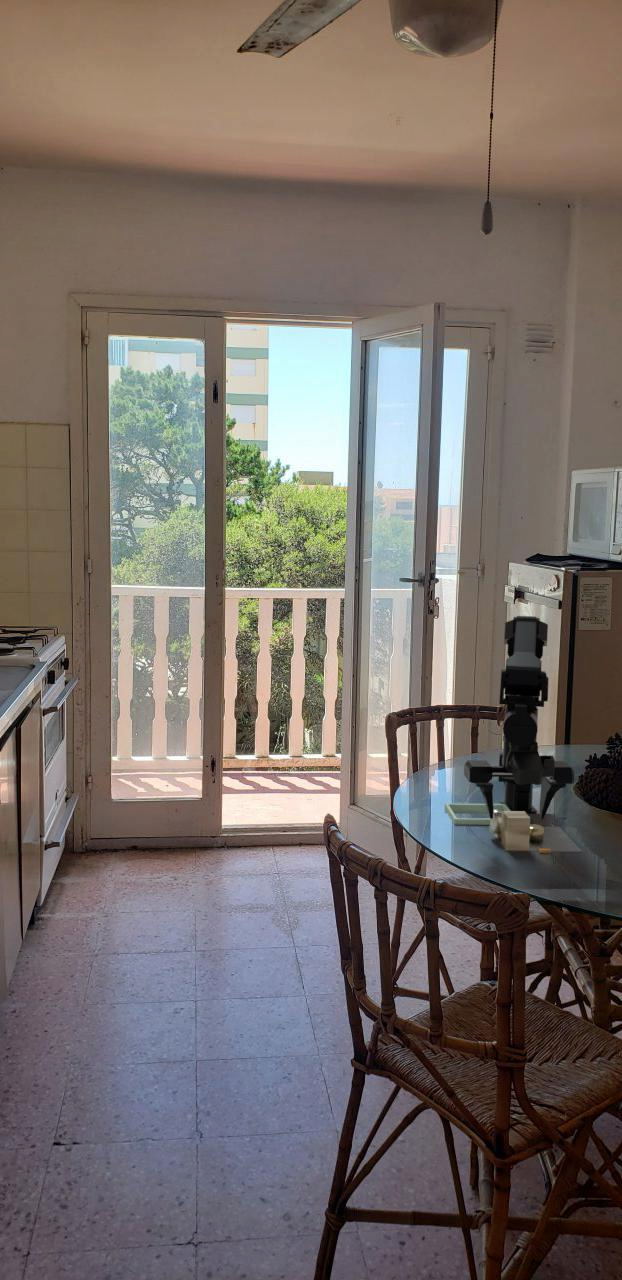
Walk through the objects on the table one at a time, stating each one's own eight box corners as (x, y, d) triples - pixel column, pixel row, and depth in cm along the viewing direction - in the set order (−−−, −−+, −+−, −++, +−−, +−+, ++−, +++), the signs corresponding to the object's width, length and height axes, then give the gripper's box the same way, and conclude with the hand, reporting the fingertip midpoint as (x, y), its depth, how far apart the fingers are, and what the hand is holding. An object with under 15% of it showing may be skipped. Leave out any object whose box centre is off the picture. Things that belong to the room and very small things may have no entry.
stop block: (501, 842, 180) (502, 811, 179) (523, 843, 180) (524, 811, 180) (506, 850, 176) (508, 817, 175) (528, 850, 176) (530, 818, 176)
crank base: (487, 834, 190) (487, 823, 190) (559, 834, 191) (559, 824, 190) (505, 860, 175) (506, 849, 175) (583, 861, 176) (583, 850, 176)
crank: (540, 834, 185) (541, 808, 184) (545, 840, 181) (547, 814, 181) (487, 834, 184) (488, 808, 184) (491, 840, 181) (492, 814, 180)
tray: (444, 815, 201) (445, 803, 201) (504, 815, 202) (505, 803, 201) (454, 831, 191) (454, 819, 191) (517, 832, 191) (518, 819, 191)
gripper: (478, 743, 167) (474, 832, 169) (586, 744, 168) (581, 833, 170) (465, 729, 178) (461, 812, 180) (566, 730, 179) (562, 813, 181)
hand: (516, 818), depth 178 cm, fingers open, 9 cm apart
